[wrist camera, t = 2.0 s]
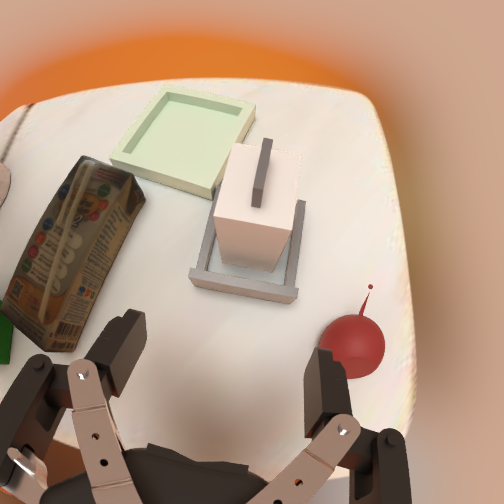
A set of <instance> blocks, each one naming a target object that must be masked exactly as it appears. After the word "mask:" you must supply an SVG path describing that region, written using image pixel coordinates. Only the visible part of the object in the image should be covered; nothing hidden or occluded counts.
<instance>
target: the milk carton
mask: <svg viewBox="0 0 504 504" xmlns="http://www.w3.org/2000/svg"><path fill="white" fill-rule="evenodd" d="M2 303H3V302H2V301H0V309H1V306H2ZM12 330H13V324H12V323H11V322H10V321H9V320H8V319H7V318H6V317H5V316H4V315H3V314H2V313H1V312H0V364H9V358H10V347H11V338H12Z"/></svg>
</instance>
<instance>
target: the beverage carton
mask: <svg viewBox="0 0 504 504" xmlns="http://www.w3.org/2000/svg"><path fill="white" fill-rule="evenodd" d="M144 202H145V197H144V195H143V192H142V190H141V188H140V186H139V185H138V183H137V182H136V179H135V177H134V175H133V174H132V173H130V172H128V171H125V170H123V169H120V168H117V167H114V166H111V165H108V164H106V163H103V162H101V161H98V160H96V159H93V158H91V157H88V156H84V155H83V156H81V157H80V159H79V160H78V162H77V163H76V164H75V166H74V167H73V169H72V170H71V171H70V173H69V174H68V176H67V178H66V179H65V180H64V182H63V183H62V185H61V186H60V188H59V189H58V191H57V192H56V194H55V196H54V197H53V199H52V200H51V202H50V203H49V205H48V207H47V209H46V211H45V212H44V214H43V216H42V217H41V219H40V221H39V223H38V225H37V226H36V228H35V230H34V232H33V234H32V236H31V238H30V239H29V242H28V244H27V246H26V248H25V250H24V252H23V254H22V256H21V258H20V260H19V263H18V265H17V267H16V270H15V272H14V274H13V277H12V279H11V281H10V284H9V287H8V289H7V292H6V294H5V297H4V300H3V303H2V306H1V309H0V312H1V313H2V314H3V315H4V316H5V317H6V318H7V319H8V320H9V321H10V322H11V323H12V324H13V325H14V326H15V327H16V328H17V329H18V330H20V331H21V332H22V333H23V334H24V335H25V336H27V337H28V338H29V339H30V340H31V341H33V342H34V343H35V344H36V345H37V346H38V347H39V348H41V349H42V350H43V351H45V352H73V350H74V347H75V345H76V343H77V340H78V338H79V336H80V333H81V331H82V329H83V326H84V324H85V321H86V319H87V317H88V314H89V312H90V310H91V307H92V305H93V303H94V300H95V298H96V296H97V294H98V291H99V289H100V287H101V285H102V283H103V281H104V279H105V276H106V274H107V272H108V270H109V268H110V266H111V264H112V262H113V260H114V258H115V256H116V254H117V252H118V250H119V248H120V246H121V244H122V243H123V241H124V239H125V237H126V235H127V233H128V231H129V229H130V227H131V225H132V223H133V221H134V219H135V217H136V216H137V214H138V212H139V210H140V208H141V207H142V205H143V203H144Z"/></svg>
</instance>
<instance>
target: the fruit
mask: <svg viewBox="0 0 504 504" xmlns="http://www.w3.org/2000/svg"><path fill="white" fill-rule="evenodd" d="M368 288H369V289H372V288H373V286H372V285H371V284H370V285H369V286H368ZM368 296H369V294H368ZM368 296H367V298H366V300H365V302H364V303H363V305H362V307H361V310H360V312H359V315H346V316H343V317H340V318H338V319H336V320H335V321H333V322H332V323H331V324H330V325H329V326H328V327H327V328H326V330H325V331H324V333H323V335H322V337H321V340H320V344H319V348H323V349H331V350H332V354H333V361H340V362H341V364H342V365H343V367H344V369H345V370H346V376H347V379H354V378H360V377H364V376H367V375H369V374H371V373H372V372H374V371H375V370H376V369H377V367H378V366H379V365H380V363H381V361H382V359H383V356H384V352H385V340H384V336H383V333H382V331H381V329H380V328H379V326H378V325H377V324H376V323H375V322H374V321H372V320H371V319H369V318H367V317H365V316H363V312H364V309H365V305H366V302H367V299H368Z"/></svg>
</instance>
